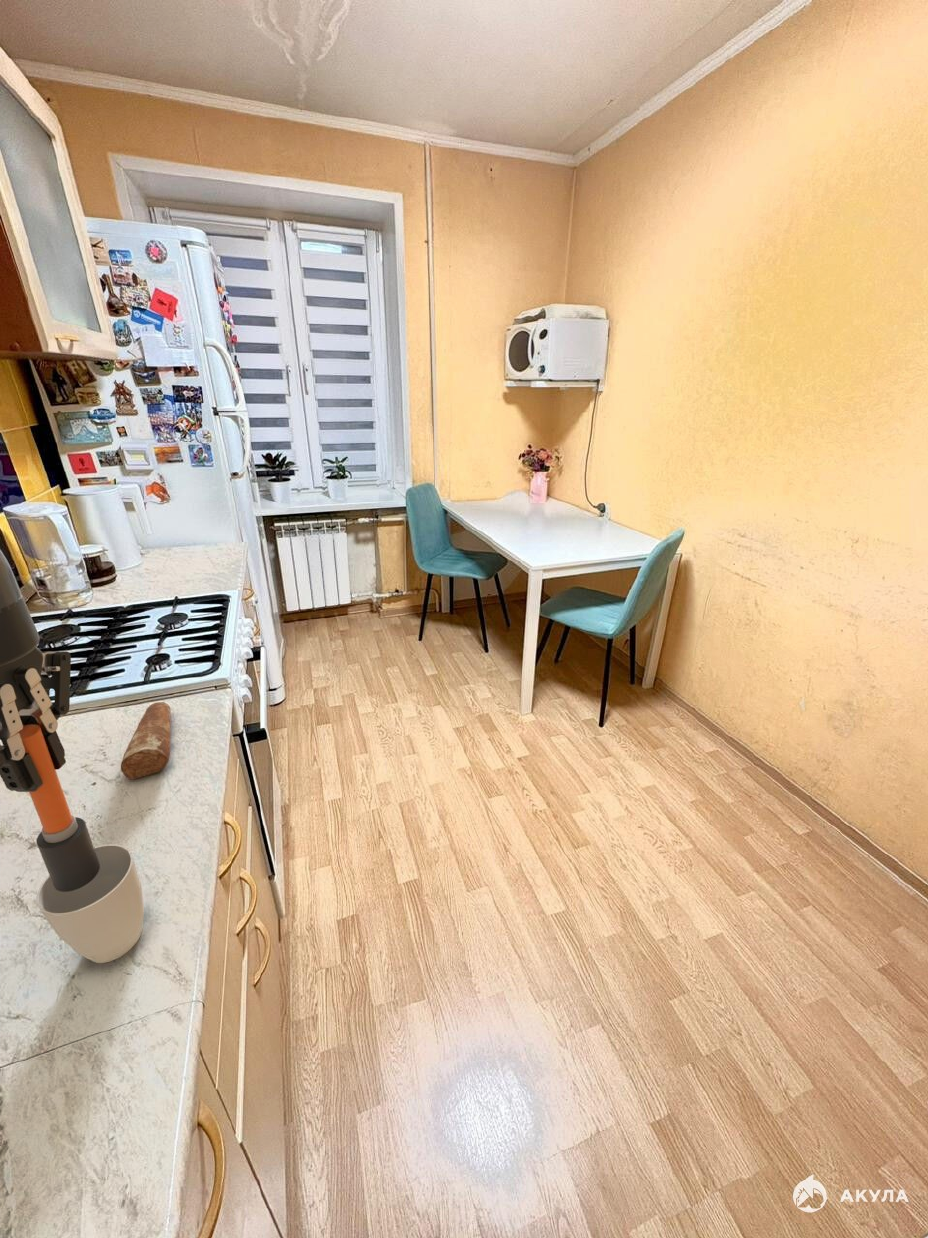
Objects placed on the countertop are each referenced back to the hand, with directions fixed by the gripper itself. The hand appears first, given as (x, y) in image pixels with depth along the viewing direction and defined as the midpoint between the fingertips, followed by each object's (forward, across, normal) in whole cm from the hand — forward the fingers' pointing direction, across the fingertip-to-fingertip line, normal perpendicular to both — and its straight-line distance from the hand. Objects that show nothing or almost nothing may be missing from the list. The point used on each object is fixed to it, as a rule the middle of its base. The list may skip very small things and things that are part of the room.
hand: (40, 777), depth 45 cm
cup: (+23, 0, 0) cm, 23 cm away
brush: (+13, 0, -1) cm, 13 cm away
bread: (+23, -33, -15) cm, 43 cm away
